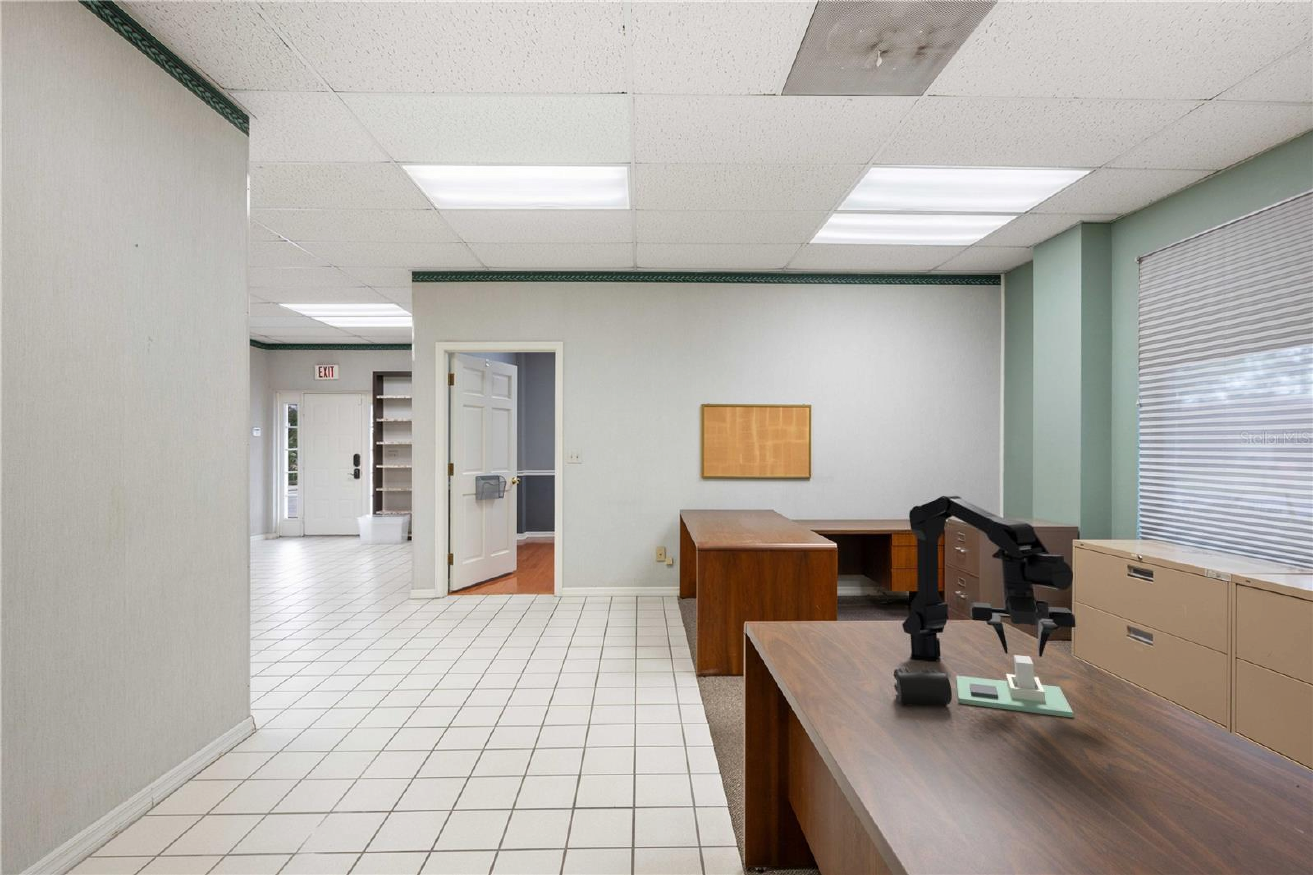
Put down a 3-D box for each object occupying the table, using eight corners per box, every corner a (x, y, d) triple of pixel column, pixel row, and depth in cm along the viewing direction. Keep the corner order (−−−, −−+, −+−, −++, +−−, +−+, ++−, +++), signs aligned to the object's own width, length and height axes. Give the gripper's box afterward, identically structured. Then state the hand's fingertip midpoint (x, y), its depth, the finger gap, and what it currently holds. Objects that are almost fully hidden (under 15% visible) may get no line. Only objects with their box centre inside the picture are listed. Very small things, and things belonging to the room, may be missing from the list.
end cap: (902, 711, 120) (900, 677, 120) (893, 697, 127) (891, 665, 127) (953, 712, 118) (951, 678, 119) (941, 698, 125) (939, 666, 126)
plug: (1018, 696, 122) (1016, 662, 123) (1015, 686, 128) (1013, 653, 128) (1035, 698, 121) (1033, 664, 121) (1031, 688, 126) (1029, 655, 127)
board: (958, 703, 122) (957, 688, 122) (956, 680, 135) (955, 666, 135) (1073, 717, 114) (1072, 702, 114) (1059, 691, 126) (1058, 677, 126)
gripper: (971, 586, 122) (975, 662, 121) (1078, 591, 114) (1084, 672, 113) (968, 576, 132) (972, 646, 131) (1067, 580, 124) (1072, 655, 123)
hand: (1023, 654), depth 124 cm, fingers open, 6 cm apart
